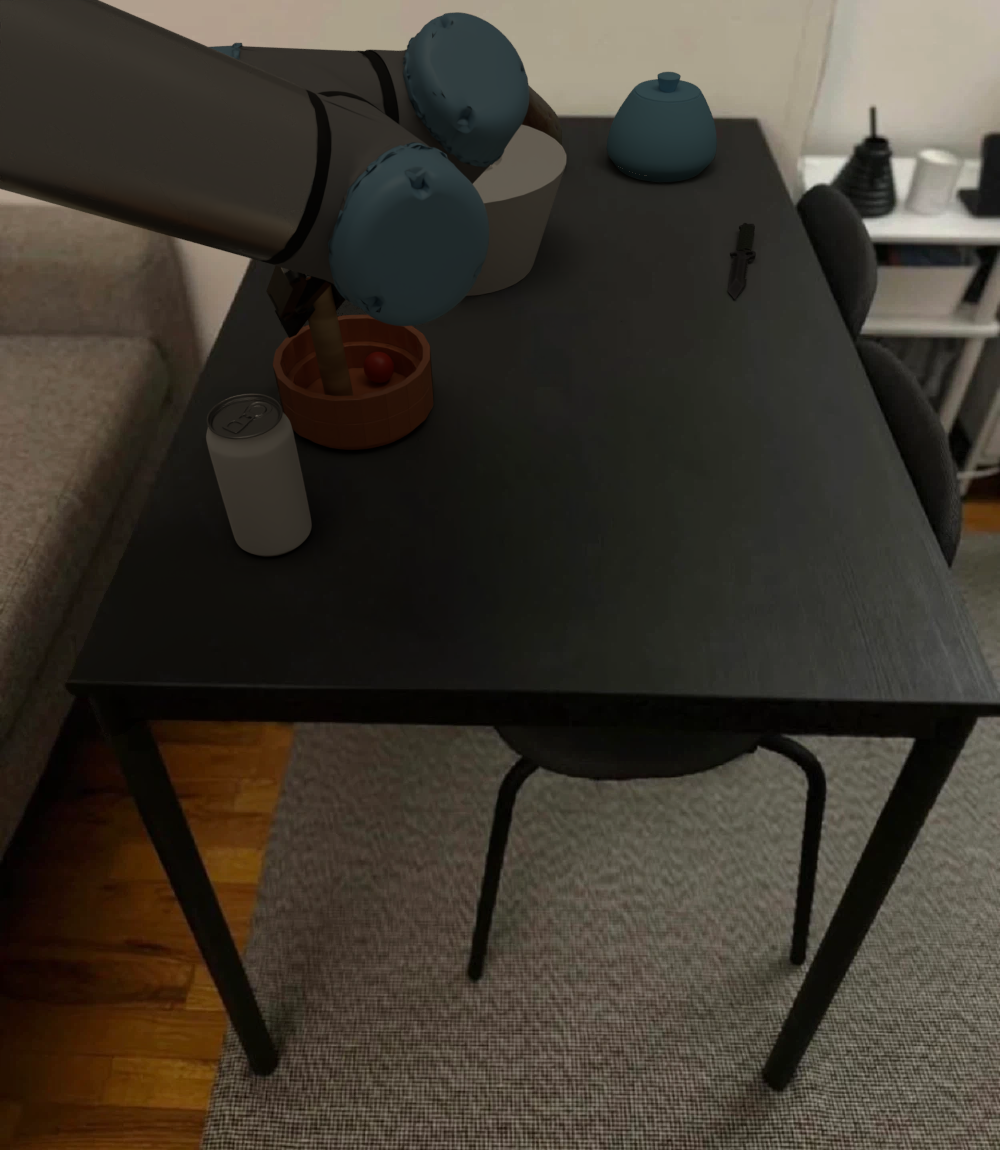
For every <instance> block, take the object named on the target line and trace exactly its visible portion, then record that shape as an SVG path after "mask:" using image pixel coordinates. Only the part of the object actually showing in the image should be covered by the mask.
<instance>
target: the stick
mask: <svg viewBox="0 0 1000 1150" xmlns="http://www.w3.org/2000/svg"><path fill="white" fill-rule="evenodd" d="M313 306H314V308H315V311H314V312H313V313H312V315H311V316H310V317H309V319H308V320H307V322H308V325H309V327H310V331H311V336H312V340H313V344H314V349H315V353H316V358H317V362H318V366H319V371H320V375H321V380H322V384H323V388H324V393H325V395H331V396H353V390H352V385H351V380H350V375H349V371H348V366H347V361H346V356H345V351H344V346H343V341H342V336H341V331H340V327H339V322H338V311H336V307H335V302H334V297H333V292H332V288H331V285H330V286H329V287H328V289H327V290H326V291H325V292H324V293H323V294H322V295H321V296H320V297H319V298H318V299H317V300H316V302H315V303H314V304H313Z"/></svg>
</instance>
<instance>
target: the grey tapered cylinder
mask: <svg viewBox="0 0 1000 1150" xmlns="http://www.w3.org/2000/svg"><path fill="white" fill-rule="evenodd" d="M566 166H567V153H566V151H565V149H564V147H563V146H562V145H560V144H559V143H558V142H557V141H556V140H555V139H554V138H552V137H551V136H549V135H547V134H546V133H544V132H542V131H539V130H537V129H534V128H531V127H529V126H525V125H521V126H520V127H519V129H518V130H517V132H516V133H515V134H514V136H513V137H512V139H511V140H510V142H509V143H508V145H507V146H506V148H505V150H504V153H503V155H502V156H501V157H500V159H499V160H498V161H496V162H494V163H493V165H490V166H489V167H488V168H487V169H486V170H485V171H484V172H483V173H482V174H481V176H480V177H479V178H478V179H477V180H476V181H475V182H474V183H473V186H474V187H475V188H476V190H477V191H478V193H479V195H480V197H481V199H482V200H483V203H484V206H485V208H486V211H487V216H488V221H489V245H488V251H487V255H486V258H485V261H484V263H483V265H482V269H481V272H480V274H479V275H478V277H477V279H476V282H475V283H474V285H473V287H472V288H471V290H470V291H469V292H468V293H467V295H466V296H465V297H471V296H473V297H474V296H480V295H487V294H491V293H495V292H498V291H502V290H505V289H507V288H509V287H512V286H514V285H516V284H518V283H519V282H521V281H522V280H523V279H525V278H526V277H527V276H528V275H529V274H530V272H531V271H532V269H533V267H534V264H535V261H536V258H537V255H538V252H539V250H540V249H539V248H540V245H541V244H542V239H543V236H544V234H545V231H546V228H547V225H548V221H549V218H550V215H551V211H552V209H553V205H554V203H555V199H556V197H557V194H558V192H559V191H558V190H559V188H560V184H561V181H562V178H563V175H564V172H565V169H566Z"/></svg>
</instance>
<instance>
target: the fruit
mask: <svg viewBox="0 0 1000 1150" xmlns="http://www.w3.org/2000/svg"><path fill="white" fill-rule="evenodd" d="M560 121H561V120H560V119H559V117H558V114H557V113H556V111H555V110H554V109H553V108H552V107H551V105H550V104H549V103H548V102H547V101H546V100H545V99H544V98H543V97H542V96H541V95H540V94H539V93H537V91H536V90H535V89H533V88H532V87H531V85H529V105H528V110H527V113H526V116H525V118H524V121H523V123H522V124H521V125H525V126H529V127H531V128H534V129H537V130H539V131H542V132H544V133H546V134H547V135H549V136H551V137H552V138H554V139H555V140H556V141H557V142H558V143H559V144H560V145H561V146H562V144H563V131H562V125H561V122H560Z"/></svg>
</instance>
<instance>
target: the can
mask: <svg viewBox="0 0 1000 1150" xmlns="http://www.w3.org/2000/svg"><path fill="white" fill-rule="evenodd" d="M206 425H207V430H206V434H205V440H206V446H207V449H208V453H209V457H210V460H211V464H212V467H213V470H214V475H215V477H216V481H217V484H218V488H219V491H220V495H221V498H222V502H223V505H224V508H225V511H226V516H227V518H228V521H229V525H230V528H231V532H232V536H233V538H234V540H235V543H236V544H237V546H238V547H239V548H240V549H241V550H243V551H245V552H247V553H249V554H251V555H253V556H258V557H263V558H264V557H266V558H269V557H270V558H271V557H278V556H282V555H285V554H288V553H291V552H292V551H294V550H296V549H297V548H299V547H300V546H301V545H303V543H304V542H305V541H306V540H307V539H308V537H309V536H310V534H311V532H312V527H313V525H312V524H313V522H312V518H311V517H312V516H311V512H310V506H309V502H308V497H307V491H306V487H305V481H304V476H303V473H302V467H301V462H300V457H299V453H298V449H297V443H296V439H295V434H294V430H293V429H292V426H291V423H290V421H289V419H288V417H287V416H286V415H285V414H284V413H283V409H282V406H281V402H280V401H278V400H277V399H275V398H274V397H272V396H269V395H266V394H263V393H243V394H236V395H232V396H230V397H226V398H225V399H223V400H221V401H219V402H218V403H216V404H215V405H214V406H213V407H212V408H211V409H209V411H208V414H207V416H206Z"/></svg>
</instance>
